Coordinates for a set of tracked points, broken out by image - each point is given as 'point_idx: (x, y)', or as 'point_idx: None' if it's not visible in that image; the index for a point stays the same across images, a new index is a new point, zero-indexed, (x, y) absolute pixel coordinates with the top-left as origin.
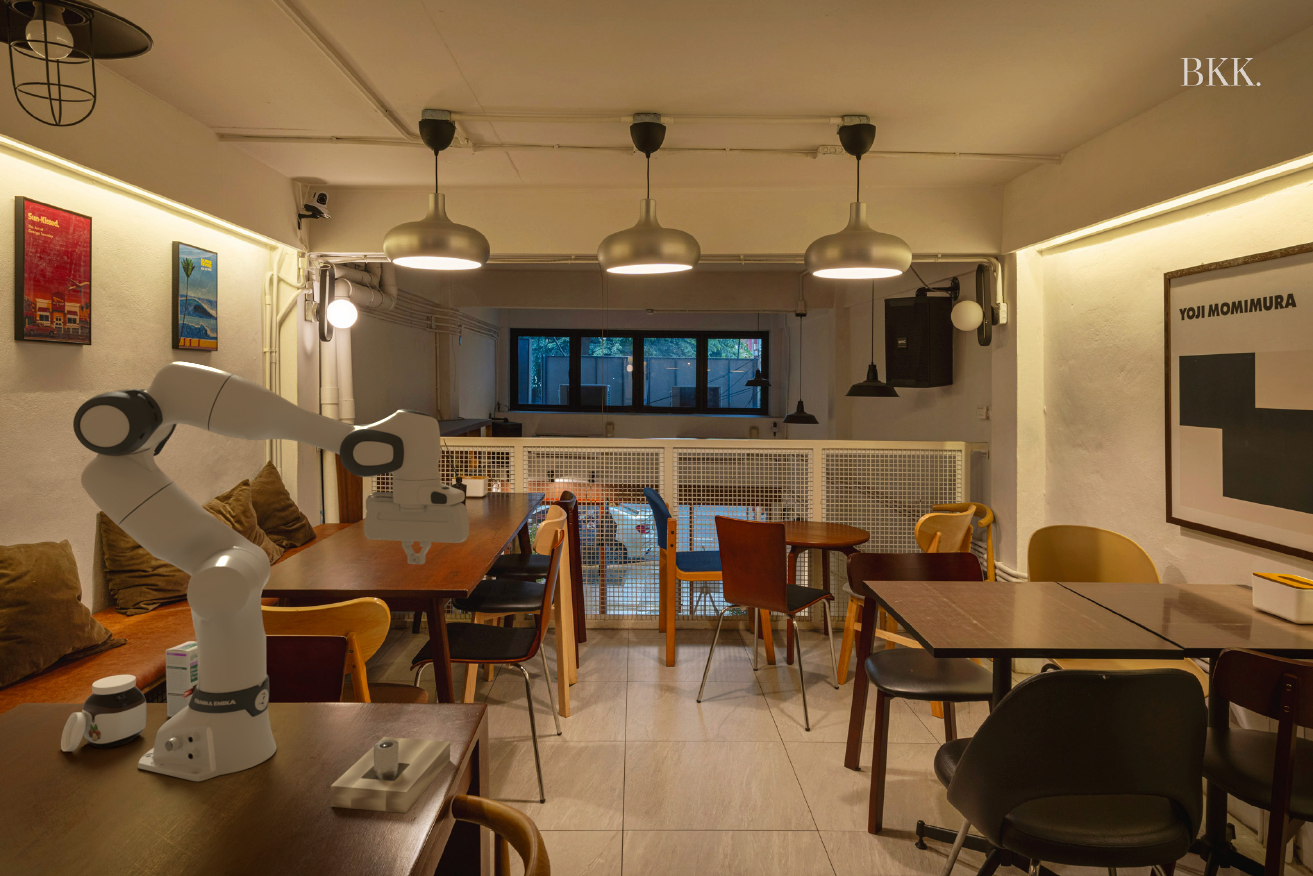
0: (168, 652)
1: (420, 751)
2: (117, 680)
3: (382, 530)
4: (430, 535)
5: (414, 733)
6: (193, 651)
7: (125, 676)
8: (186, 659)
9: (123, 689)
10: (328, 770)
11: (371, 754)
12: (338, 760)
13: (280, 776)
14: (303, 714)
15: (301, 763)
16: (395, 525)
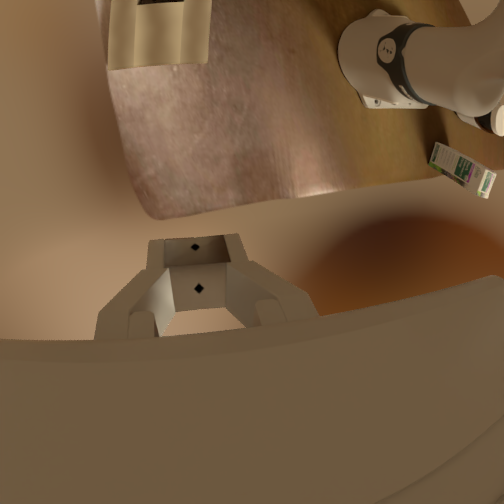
0: (493, 171)
1: (136, 35)
2: (502, 121)
3: (485, 331)
4: (17, 384)
5: (192, 126)
6: (481, 174)
7: (500, 131)
8: (480, 165)
9: (494, 109)
10: (257, 22)
11: (201, 15)
12: (257, 45)
13: (305, 10)
14: (349, 158)
15: (298, 37)
16: (441, 409)
